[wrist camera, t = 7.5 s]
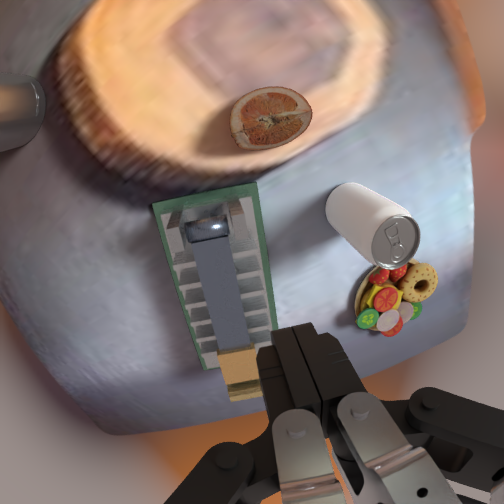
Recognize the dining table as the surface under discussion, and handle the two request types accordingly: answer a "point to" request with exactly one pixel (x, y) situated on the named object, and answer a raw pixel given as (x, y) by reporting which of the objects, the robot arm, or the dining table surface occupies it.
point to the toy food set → (393, 296)
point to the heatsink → (245, 262)
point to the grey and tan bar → (223, 297)
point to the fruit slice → (269, 118)
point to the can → (373, 225)
